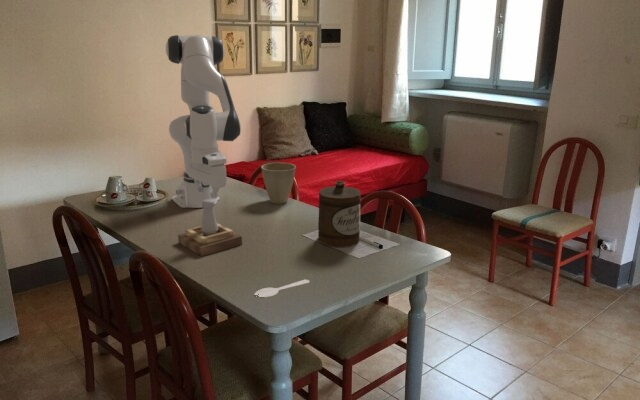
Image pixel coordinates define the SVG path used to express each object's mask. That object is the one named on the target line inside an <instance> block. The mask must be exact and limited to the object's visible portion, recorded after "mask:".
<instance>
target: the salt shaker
mask: <svg viewBox="0 0 640 400" xmlns="http://www.w3.org/2000/svg"><path fill="white" fill-rule="evenodd" d="M215 205H216V204H215V203H214V201H213V200H211V199H206V200H203V201H202V208H203V212H202V218H201V219H202V220H201V225H200V226H201V231H202V233H203V235H204V236H205V237H206V236H210V235H213V234H217V231H218V226H217V223H218V222H217V218H216V214H215V211H214V207H215Z"/></svg>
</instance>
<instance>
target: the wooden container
mask: <svg viewBox="0 0 640 400" xmlns="http://www.w3.org/2000/svg"><path fill="white" fill-rule="evenodd" d="M318 194H319V195H318V199H319V202H318V228H317V229H318V232H317V234H318V237H317V239H318V241H319V242H320V243H321V244H323V245H325V246H327V247H328V246H329V247H333V248H346V247H352V246H355V245H356V244H358V243H359V241H360V234H361V233H360V230H361V191H360V189H357V188H355V187H350V186H345V182H344V181H343V180H337V181H335V182H334V186H327V187H322V188H321V189H320V190H319V193H318Z"/></svg>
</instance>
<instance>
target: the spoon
mask: <svg viewBox="0 0 640 400" xmlns="http://www.w3.org/2000/svg"><path fill="white" fill-rule="evenodd" d="M310 282H311V281H310V280H309V279H302V280H299V281H296V282H293V283H289V284H286V285H283V286H280V287H263V288H261V289H259V290H257V291H255V292H254V294H253V295H258V294H259V295H258V296H259V297H257V296H256V298H260V297H264V298H270V297H273V296H277V294H279V291H282V290H287V289H291V288H294V287H298V286H302V285H307V284H309V283H310Z"/></svg>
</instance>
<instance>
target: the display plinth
mask: <svg viewBox="0 0 640 400" xmlns="http://www.w3.org/2000/svg"><path fill="white" fill-rule="evenodd" d="M201 226H202V225H199V226H195V227H189V228H187V229H185V232H184V233H179V234H178V235H177V237H178V238H177V239H178V244H181V246H184V247H186V248H187V249H189V250H190V251H192V252H194V253H195V254H197V255H199V256H200V257H203V256H206V255H210V254H213V253H217V252H221V251H224V250H227V249H230V248H234V247H238V246H241V245H243V236H242V235H240V234H237V233H236V232H235V231H234V230H233V229H231V228H228V227H226V226H225V225H222V224H220V223H219V222H217V226H218V231H217V234H213V235H210V236H206V237H205V236H204V235H203V233H202V231H201Z"/></svg>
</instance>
